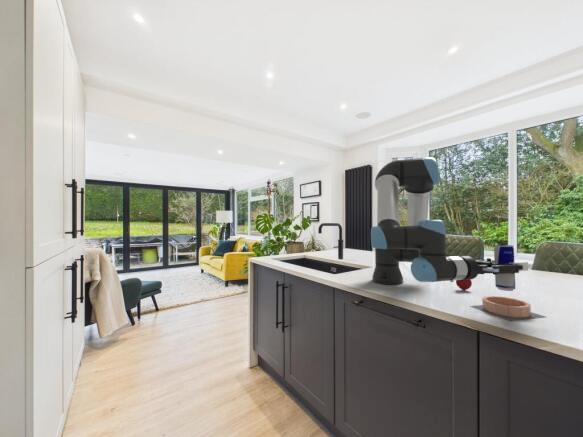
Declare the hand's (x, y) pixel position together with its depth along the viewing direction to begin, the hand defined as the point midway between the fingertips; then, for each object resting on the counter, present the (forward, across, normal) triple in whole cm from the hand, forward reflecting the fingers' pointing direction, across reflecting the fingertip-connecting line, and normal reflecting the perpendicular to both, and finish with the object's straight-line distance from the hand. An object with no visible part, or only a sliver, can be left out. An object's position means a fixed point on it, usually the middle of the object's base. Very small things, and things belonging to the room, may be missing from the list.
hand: (517, 264), depth 85 cm
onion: (+5, -26, -16) cm, 31 cm away
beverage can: (-5, 0, -8) cm, 10 cm away
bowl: (-5, 0, -15) cm, 16 cm away
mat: (-5, 0, -16) cm, 17 cm away
